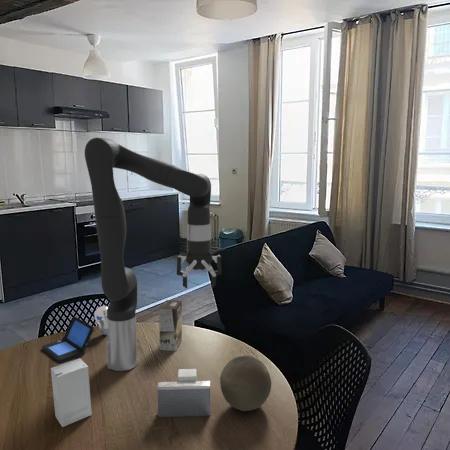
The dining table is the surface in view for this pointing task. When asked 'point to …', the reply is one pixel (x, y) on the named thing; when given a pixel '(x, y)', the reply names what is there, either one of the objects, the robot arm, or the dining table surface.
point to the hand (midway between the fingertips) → (199, 287)
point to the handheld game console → (71, 341)
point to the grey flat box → (184, 398)
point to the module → (187, 375)
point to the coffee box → (170, 325)
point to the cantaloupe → (245, 383)
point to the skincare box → (71, 392)
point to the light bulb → (102, 319)
